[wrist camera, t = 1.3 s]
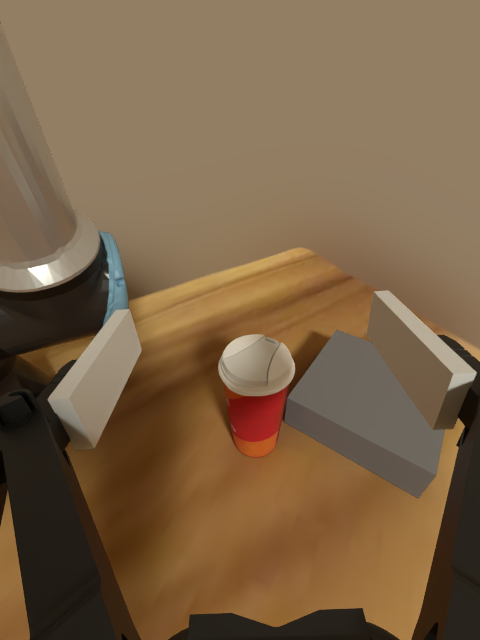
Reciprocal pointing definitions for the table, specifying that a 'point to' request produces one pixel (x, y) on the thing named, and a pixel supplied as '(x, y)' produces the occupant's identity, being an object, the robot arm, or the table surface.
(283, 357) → the paper cup
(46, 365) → the table surface
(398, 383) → the base block
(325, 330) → the table surface
